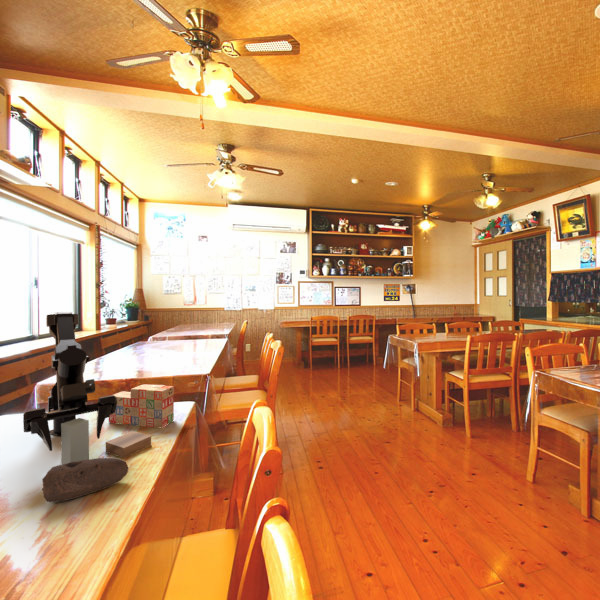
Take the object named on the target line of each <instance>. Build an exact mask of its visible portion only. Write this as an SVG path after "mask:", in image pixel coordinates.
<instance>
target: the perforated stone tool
mask: <svg viewBox="0 0 600 600" xmlns="http://www.w3.org/2000/svg"><path fill="white" fill-rule="evenodd" d="M128 470H129V466H128V463H127V462H126V461H125V460H124V459H121V458H116V457H98V458H92V459H91V458H89V460H82V461H77V462H71V463H67V464H63V465H61V464H59V465H55V466H52V467H51V468H50V469H49V470H48V471H47V472H46V474H45V476H44V477H43V478H41V479H42V480H41V481H42V486H43V487H42V489H41V491H42V495H43V498H44V500H45V501H46V502H48V503H55V502H56V503H57V502H63V501H69V500H73V499H76V498H79V497H82V496H85V495H89V494H92V493H96V492H99V491H101V490H103V489H104V490H105V489H106V488H109V487H111V486H113V485H115V484H117V483H119V482H121V480H123V479H124V478H125V476H126V475H127V473H128V472H129V471H128Z"/></svg>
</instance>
